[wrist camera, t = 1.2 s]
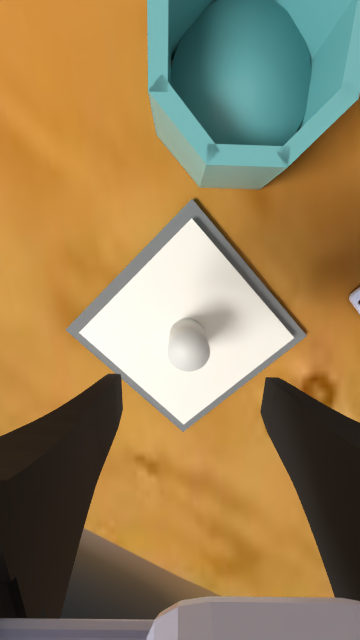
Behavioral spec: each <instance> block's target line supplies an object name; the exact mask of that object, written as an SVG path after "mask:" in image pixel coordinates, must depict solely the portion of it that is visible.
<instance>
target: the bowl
mask: <svg viewBox="0 0 360 640" xmlns="http://www.w3.org/2000/svg"><path fill="white" fill-rule="evenodd" d="M147 10H148V93H149V98H150V104H151V109H152V114H153V119H154V125H155V130H156V135H157V136H158V137H159V139H160V140H161V141H162V142H163V143H164V145H165V146H166V147H167V148H168V150H169V151H170V152H171V153H172V154H173V156H174V157H175V158H176V159H177V161H178V162H179V163H180V164H181V165H182V167H183V168H184V169H185V170H186V172H187V173H188V174H189V175H190V176H191V178H192V179H193V180H194V181H195V183H196V184H197V185H198V186H199V188H230V189H261V188H263V187H264V186H265V185H266V184H268V183H269V182H270V181H271V180H273V179H274V178H275V177H276V176H278V175H279V174H280V173H281V172H283V171H284V170H285V169H286V168H288V166H289V165H290V164H291V163H292V162H294V161H295V160H296V159H297V158H298V157H299V156H300V155H301V154H302V153H303V152H304V151H305V150H306V149H307V148H308V147H309V146H310V145H311V144H312V143H313V142H314V141H315V140H316V139H317V138H318V137H319V136H320V135H321V134H322V133H324V132H325V131H326V130H327V129H328V128H329V127H330V126H331V125H332V124H333V123H334V122H335V121H336V120H337V119H338V118H339V117H340V116H341V115H342V114H343V113H344V112H345V111H346V110H347V109H348V108H349V107H350V106H351V105H353V104H354V103H355V102H356V101H357V100H358V99H359V94H360V0H147ZM172 60H173V62H172ZM297 130H298V132H297V133H296V131H297ZM295 133H296V134H295Z"/></svg>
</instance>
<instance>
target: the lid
mask: <svg viewBox="0 0 360 640" xmlns="http://www.w3.org/2000/svg"><path fill="white" fill-rule="evenodd" d="M79 333H80V334H81V335H82V336H83V337H84V338H86V339H87V340H88V341H89V342H90V343H91V344H92V345H94V346H95V347H96V348H97V349H98V350H99V351H100V352H102V353H103V354H104V355H105V356H106V357H107V358H108V359H110V360H111V361H112V362H113V363H114V364H115V365H116V366H117V367H119V368H120V369H121V370H122V371H123V372H124V373H125V374H127V375H128V376H129V377H130V378H131V379H132V380H133V381H135V382H136V383H137V384H138V385H139V386H140V387H141V388H143V389H144V390H145V391H146V392H147V393H148V394H149V395H151V396H152V397H153V398H154V399H155V400H156V401H157V402H159V403H160V404H161V405H162V406H163V407H164V408H165V409H167V410H168V411H169V412H170V413H171V414H172V415H173V416H174V417H176V418H177V419H178V420H179V421H180V422H181V423H182V424H185V423H186V422H188V421H189V420H190V419H191V418H193V417H194V416H195V415H197V414H198V413H199V412H200V411H202V410H203V409H204V408H205V407H207V406H208V405H209V404H211V403H212V402H213V401H214V400H216V399H217V398H218V397H220V396H221V395H222V394H223V393H225V392H226V391H227V390H228V389H230V388H231V387H232V386H234V385H235V384H236V383H237V382H239V381H240V380H241V379H242V378H244V377H245V376H246V375H248V374H249V373H250V372H251V371H253V370H254V369H255V368H257V367H258V366H259V365H260V364H262V363H263V362H264V361H265V360H267V359H268V358H269V357H271V356H272V355H273V354H274V353H276V352H277V351H278V350H279V349H281V348H282V347H283V346H285V345H286V344H287V343H288V342H290V341H291V340H292V339H294V337H293V336H292V335H291V334H290V332H289V331H288V330H287V329H286V328H285V326H284V325H283V324H282V323H281V322H280V321H279V319H278V318H277V317H276V316H275V315H274V314H273V312H272V311H271V310H270V309H269V308H268V307H267V305H266V304H265V303H264V302H263V301H262V300H261V298H260V297H259V296H258V295H257V294H256V293H255V291H254V290H253V289H252V288H251V287H250V286H249V284H248V283H247V282H246V281H245V280H244V279H243V277H242V276H241V275H240V274H239V273H238V272H237V270H236V269H235V268H234V267H233V266H232V265H231V263H230V262H229V261H228V260H227V259H226V258H225V256H224V255H223V254H222V253H221V252H220V251H219V249H218V248H217V247H216V246H215V245H214V244H213V242H212V241H211V240H210V239H209V238H208V237H207V235H206V234H205V233H204V232H203V231H202V230H201V228H200V227H199V226H198V225H197V224H196V223H195V221H194V220H193V219H192V218H191V219H190V220H189V221H188V222H187V223H186V224H185V225H184V226H183V227H182V228H181V230H180V231H179V232H178V233H177V234H176V235H175V236H174V237H173V238H172V239H171V240H170V241H169V242H168V243H167V244H166V245H165V246H164V247H163V248H162V249H161V250H160V251H159V252H158V253H157V254H156V255H155V256H154V257H153V258H152V259H151V260H150V261H149V262H148V263H147V264H146V265H145V266H144V267H143V268H142V269H141V270H140V271H139V272H138V273H137V274H136V275H135V276H134V277H133V278H132V279H131V280H130V281H129V282H128V283H127V284H126V285H125V286H124V287H123V288H122V289H121V290H120V291H119V292H118V293H117V294H116V295H115V296H114V297H113V298H112V299H111V301H110V302H109V303H108V304H107V305H106V306H105V307H104V308H103V309H102V310H101V311H100V312H99V313H98V314H97V315H96V316H95V317H94V318H93V319H92V320H91V321H90V322H89V323H88V324H87V325H86V326H85V327H84V328H83V329H82V330H81V331H80V332H79Z"/></svg>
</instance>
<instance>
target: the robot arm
mask: <svg viewBox="0 0 360 640" xmlns="http://www.w3.org/2000/svg"><path fill="white" fill-rule="evenodd" d="M349 300H350V302H351V303H352V305H353V306H354V307H355V309H356V310H357V311H358V313H359V314H360V303H359V304H358V301H359V300H360V287H359V288H357V289H356V290H355V291H354V292H352V293H351V294H350V296H349ZM122 410H123V404H122V385H121V374H107V375H106V376H104V377H103V378H102V379H100V380H99V381H97V382H96V383H95V384H93V385H92V386H91V387H89V388H88V389H86V390H85V391H84V392H82V393H81V394H79V395H78V396H76V397H75V398H73V399H72V400H70V401H69V402H67V403H65V404H64V405H62V406H61V407H59V408H57V409H56V410H54V411H52V412H50V413H49V414H47V415H45V416H43V417H41V418H39V419H37V420H35V421H33V422H31V423H29V424H27V425H25V426H22V427H20V428H18V429H16V430H14V431H12V432H9V433H7V434H5V435H2V436H0V640H360V423H359V422H357V421H355V420H352V419H350V418H348V417H346V416H344V415H343V414H341V413H339V412H337V411H335V410H333V409H331V408H330V407H328V406H326V405H324V404H322V403H321V402H319V401H317V400H316V399H314V398H312V397H311V396H309V395H307V394H306V393H304V392H302V391H301V390H299V389H297V388H296V387H294V386H292V385H291V384H289V383H287V382H286V381H284V380H282V379H280V378H270V377H266V380H265V387H264V393H263V400H262V406H261V415H262V418H263V421H264V424H265V427H266V429H267V432H268V434H269V436H270V438H271V440H272V442H273V444H274V446H275V448H276V450H277V452H278V454H279V456H280V458H281V460H282V462H283V464H284V466H285V468H286V470H287V472H288V474H289V476H290V478H291V480H292V482H293V484H294V487H295V489H296V491H297V494H298V496H299V499H300V501H301V504H302V506H303V509H304V511H305V514H306V516H307V519H308V522H309V524H310V527H311V530H312V532H313V535H314V538H315V541H316V543H317V546H318V549H319V552H320V555H321V557H322V560H323V563H324V566H325V569H326V572H327V575H328V578H329V581H330V583H331V586H332V590H333V593H334V596H335V598H307V597H219V596H218V597H216V596H211V597H210V596H208V597H201V598H195V599H188V600H181V601H179V602H178V603H176V604H174V605H172V606H171V607H169V608H167V609H165V610H164V611H162V612H160V614H159V615H158V616H157V618H156V619H155V620H123V619H118V620H117V619H60V616H61V613H62V608H63V604H64V600H65V596H66V592H67V588H68V584H69V580H70V576H71V573H72V569H73V565H74V561H75V557H76V554H77V550H78V546H79V542H80V538H81V535H82V531H83V528H84V524H85V521H86V517H87V514H88V510H89V507H90V503H91V500H92V497H93V493H94V490H95V486H96V484H97V481H98V478H99V475H100V472H101V470H102V467H103V465H104V462H105V460H106V457H107V455H108V452H109V450H110V447H111V445H112V442H113V440H114V437H115V435H116V432H117V429H118V426H119V422H120V418H121V414H122Z"/></svg>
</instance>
